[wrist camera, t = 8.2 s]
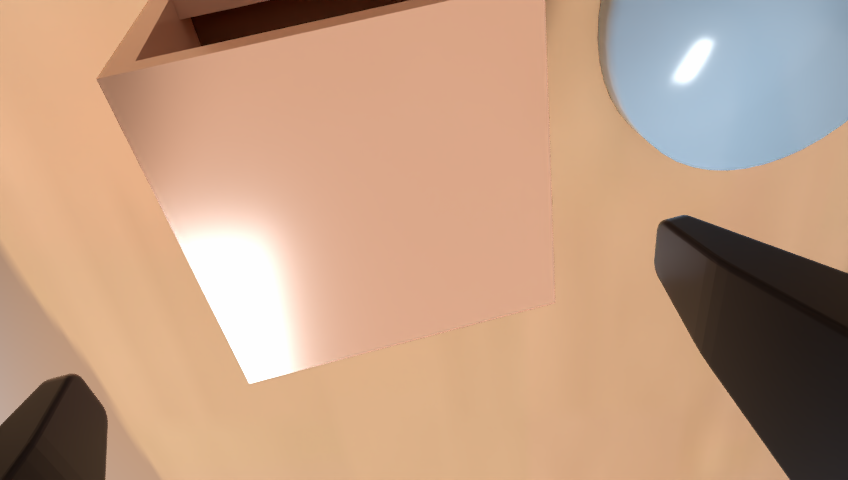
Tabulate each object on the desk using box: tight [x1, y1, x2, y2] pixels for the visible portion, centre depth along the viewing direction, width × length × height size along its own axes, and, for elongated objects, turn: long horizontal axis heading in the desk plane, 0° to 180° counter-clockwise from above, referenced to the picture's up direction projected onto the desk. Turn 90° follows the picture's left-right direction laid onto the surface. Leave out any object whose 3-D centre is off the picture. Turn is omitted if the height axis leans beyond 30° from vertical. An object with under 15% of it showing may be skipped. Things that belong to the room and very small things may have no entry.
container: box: [97, 0, 555, 384], centre depth 14 cm, size 7×7×6 cm
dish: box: [598, 0, 848, 170], centre depth 17 cm, size 10×10×1 cm
